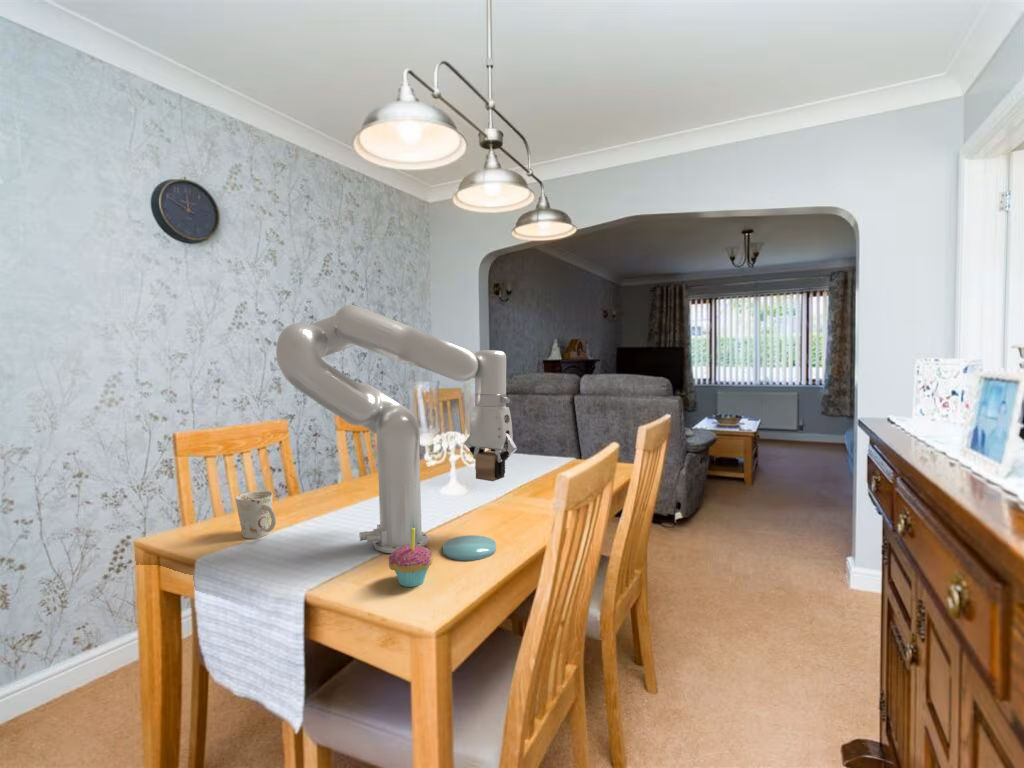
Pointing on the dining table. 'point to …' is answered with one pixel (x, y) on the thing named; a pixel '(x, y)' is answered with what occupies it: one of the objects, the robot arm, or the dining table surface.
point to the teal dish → (469, 548)
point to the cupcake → (410, 563)
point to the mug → (256, 513)
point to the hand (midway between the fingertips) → (490, 475)
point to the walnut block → (486, 466)
